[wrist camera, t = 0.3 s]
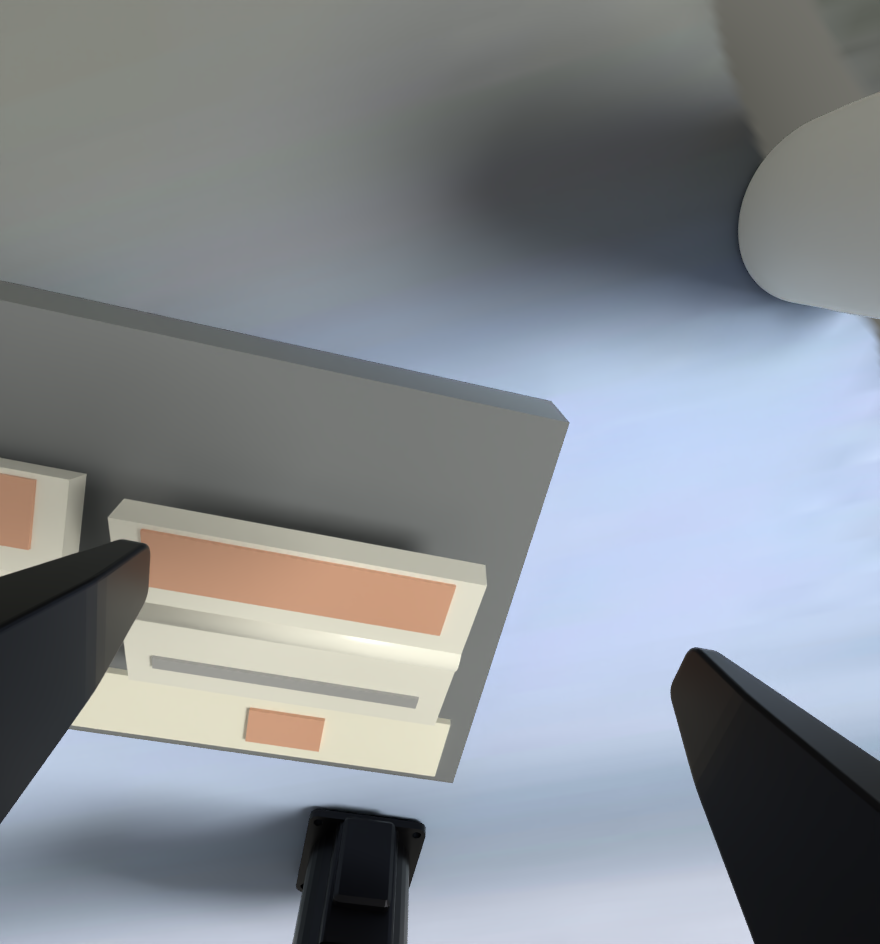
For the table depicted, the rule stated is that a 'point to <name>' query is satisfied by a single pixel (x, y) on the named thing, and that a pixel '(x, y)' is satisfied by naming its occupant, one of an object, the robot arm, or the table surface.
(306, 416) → the switch panel
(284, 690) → the cream slotted panel
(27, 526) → the rocker
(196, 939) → the table surface
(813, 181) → the mug
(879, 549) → the table surface
